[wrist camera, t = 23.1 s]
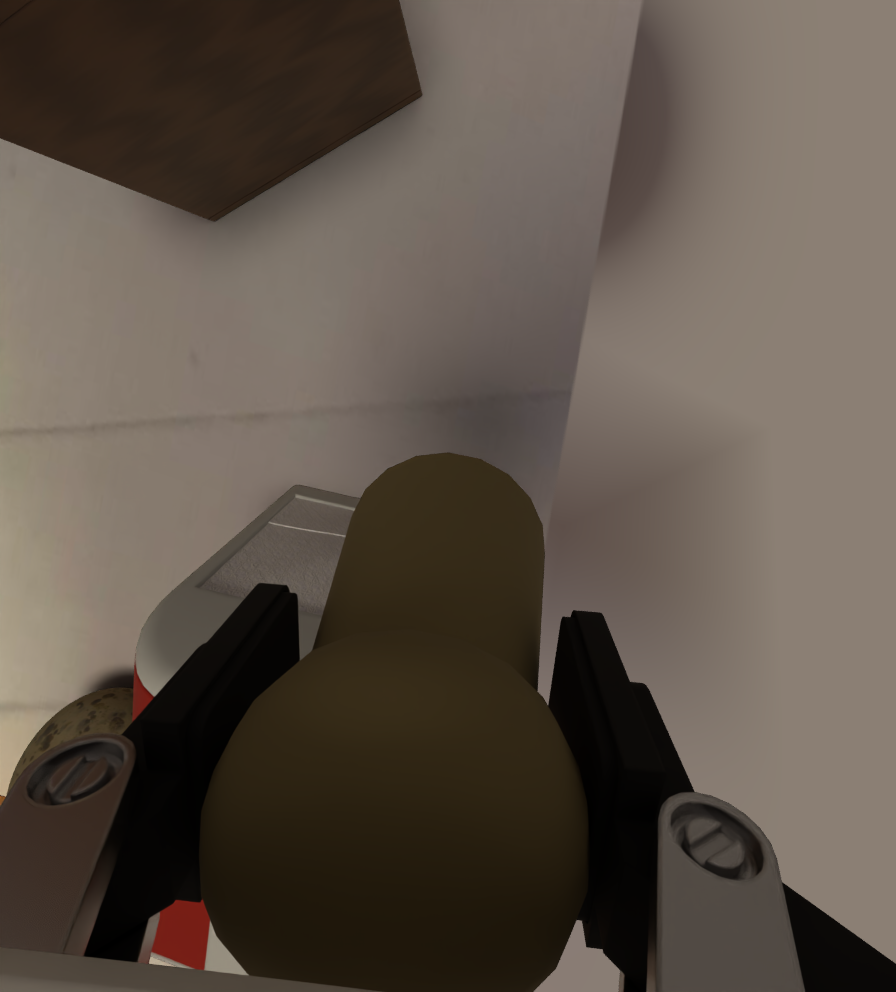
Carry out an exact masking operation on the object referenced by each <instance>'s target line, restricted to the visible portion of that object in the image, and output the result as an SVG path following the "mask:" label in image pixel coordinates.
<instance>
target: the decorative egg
mask: <svg viewBox="0 0 896 992" xmlns="http://www.w3.org/2000/svg"><path fill="white" fill-rule="evenodd" d="M132 713H133V689H131V688H109V689H104V690H100V691H96V692H93V693H90V694H88V695H85V696H83V697H81V698H79V699H77V700H75V701H74V702H72V703H70V704H69V705H67V706H66V707H64V708H63V709H62V710H60V711H59V712H58V713H57V714H55V715H54V716H53V717H52V718H51V719H50V720H49V721H48V722H47V723H46V724H45V725H44V726H43V727H42V728H41V729H40V730H39V732H38V733H37V734H36V735H35V737H34V738H33V739H32V741H31V742H30V744H29V745H28V747H27V748H26V750H25V751H24V753H23V755H22V756H21V758H20V760H19V762H18V764H17V766H16V768H15V771H14V773H13V776H12V778H11V781H10V784H9V788H8V792H7V794H8V793H9V791H10V789H11V788H12V786H13V785H14V783H15V781H16V780H17V778H18V777H19V776H20V775H21V773H22V772H23V771H24V770H25V769H26V767H27V766H28V765H29V764H30V763H32V762H33V761H34V760H35V759H37V758H38V757H39V756H40V755H42V754H43V753H44V752H46V751H48V750H50V749H52V748H53V747H55V746H57V745H59V744H60V743H63V742H66V741H68V740H71V739H74V738H76V737H79V736H84V735H89V734H93V733H115V734H119V735H121V734H122V733H123V732H124V731H125V730H126V729H127V728H128V726H129V725H130V724H131V723H132Z"/></svg>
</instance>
